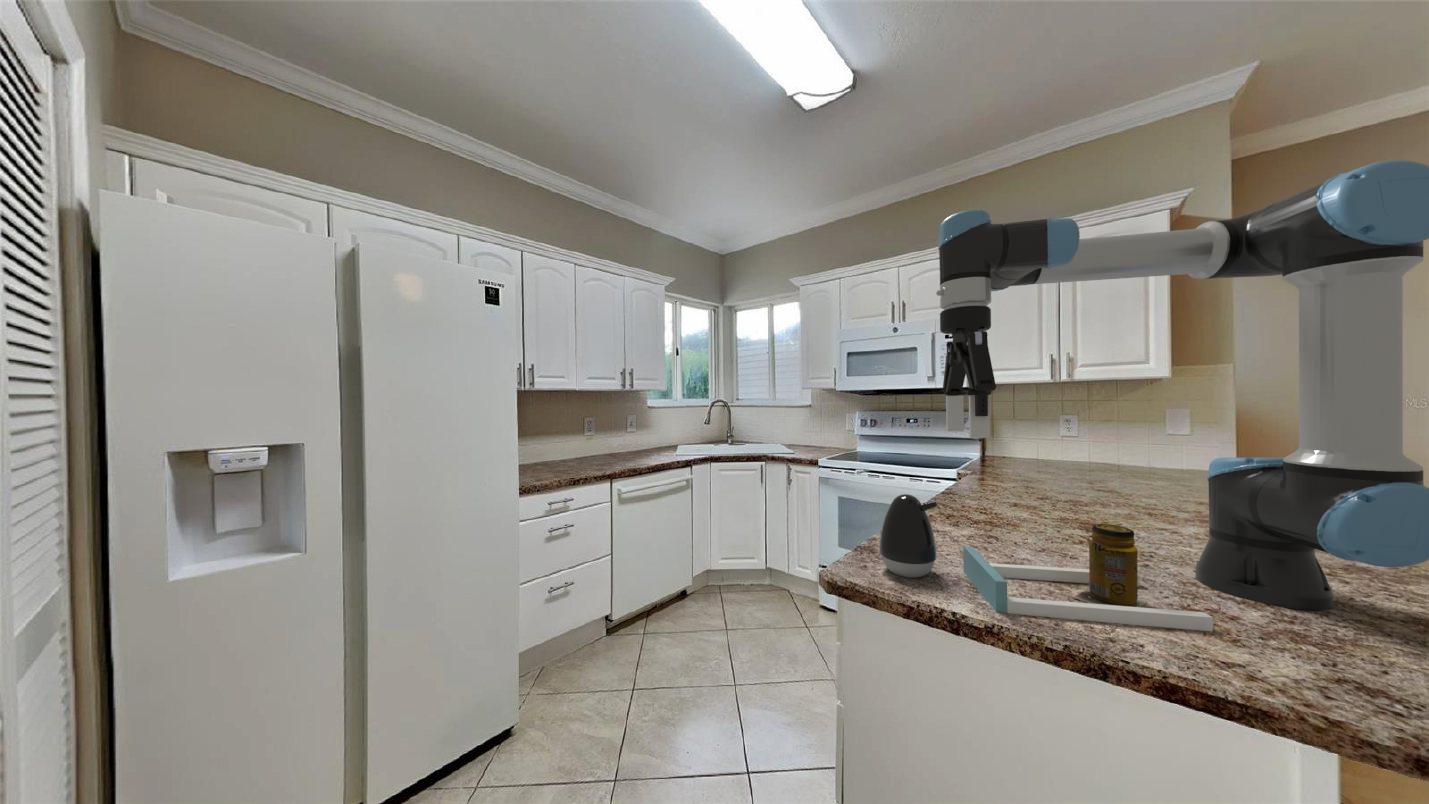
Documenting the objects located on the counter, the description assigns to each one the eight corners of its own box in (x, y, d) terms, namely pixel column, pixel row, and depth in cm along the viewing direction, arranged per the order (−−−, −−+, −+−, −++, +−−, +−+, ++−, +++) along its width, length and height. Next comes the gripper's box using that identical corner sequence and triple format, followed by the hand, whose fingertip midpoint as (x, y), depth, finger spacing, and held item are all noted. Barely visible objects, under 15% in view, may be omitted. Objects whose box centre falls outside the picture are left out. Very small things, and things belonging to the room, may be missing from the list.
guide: (1133, 583, 81) (1133, 555, 81) (1213, 631, 65) (1212, 596, 65) (963, 571, 88) (963, 546, 88) (996, 613, 71) (995, 581, 71)
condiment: (1147, 602, 74) (1147, 528, 74) (1130, 616, 70) (1129, 538, 69) (1092, 587, 80) (1091, 519, 80) (1072, 599, 76) (1072, 527, 76)
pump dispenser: (934, 588, 81) (933, 502, 81) (873, 576, 86) (872, 496, 86) (941, 569, 89) (940, 492, 89) (886, 560, 95) (885, 487, 95)
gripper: (924, 321, 90) (926, 429, 90) (961, 293, 65) (963, 441, 65) (966, 319, 88) (968, 429, 88) (1020, 289, 64) (1022, 441, 64)
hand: (966, 434), depth 77 cm, fingers open, 13 cm apart
